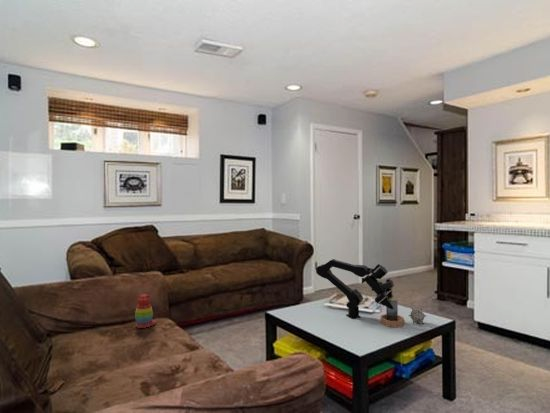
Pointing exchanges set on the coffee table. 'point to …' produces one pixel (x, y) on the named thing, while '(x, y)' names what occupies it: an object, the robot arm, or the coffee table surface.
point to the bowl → (392, 323)
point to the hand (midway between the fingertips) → (394, 306)
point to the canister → (392, 313)
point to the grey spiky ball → (417, 315)
